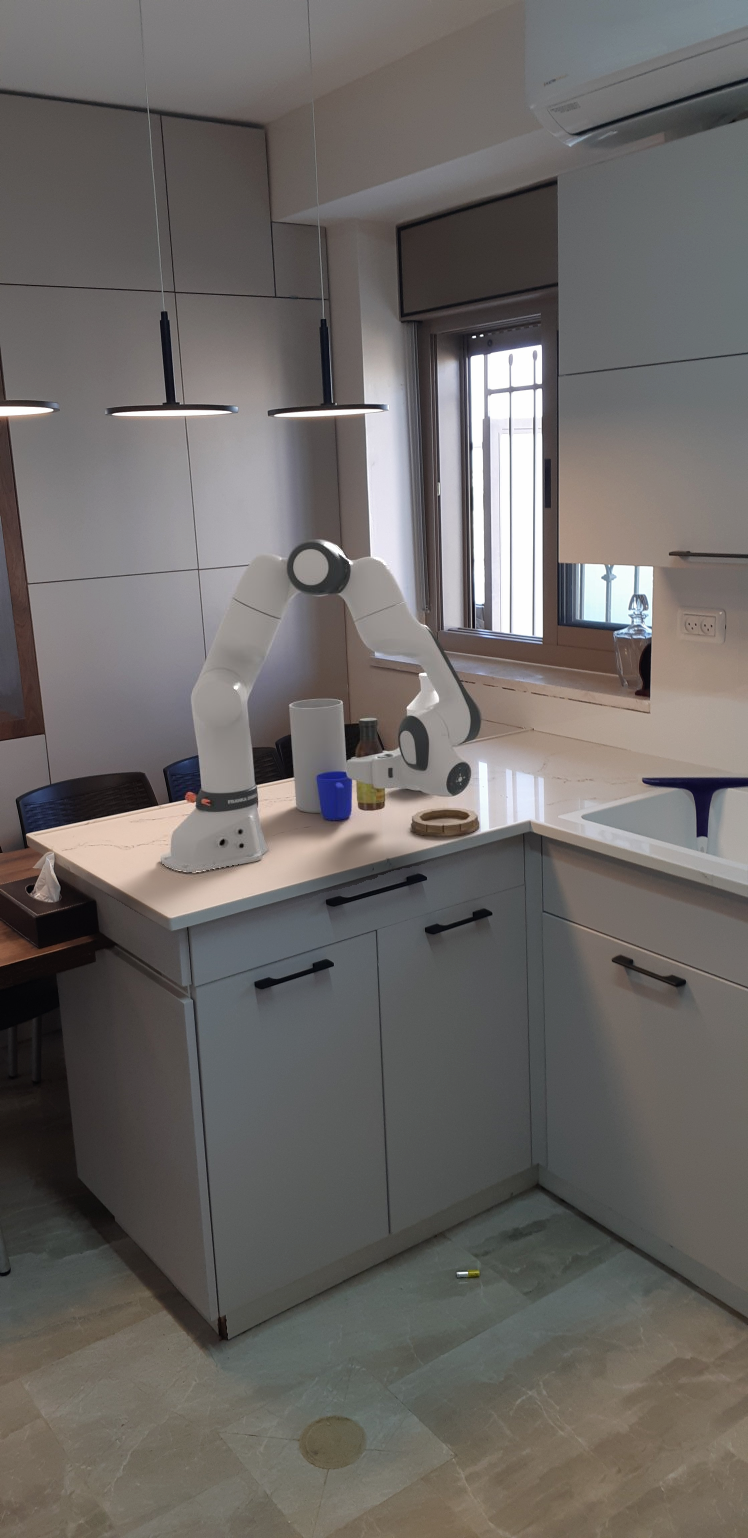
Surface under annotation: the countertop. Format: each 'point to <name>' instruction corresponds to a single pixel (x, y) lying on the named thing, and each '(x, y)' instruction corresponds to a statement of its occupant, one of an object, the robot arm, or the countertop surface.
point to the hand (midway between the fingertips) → (367, 757)
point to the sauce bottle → (368, 746)
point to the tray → (444, 822)
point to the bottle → (423, 696)
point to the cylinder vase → (315, 746)
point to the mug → (335, 795)
